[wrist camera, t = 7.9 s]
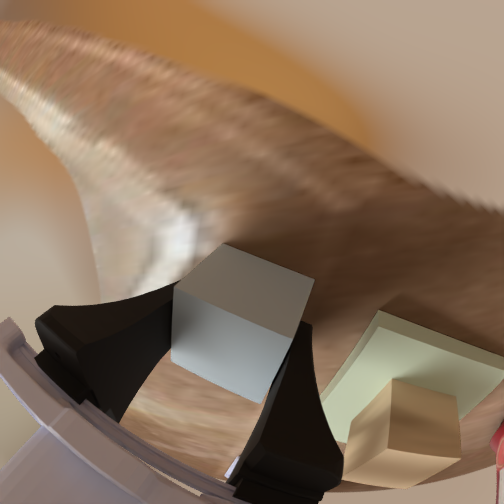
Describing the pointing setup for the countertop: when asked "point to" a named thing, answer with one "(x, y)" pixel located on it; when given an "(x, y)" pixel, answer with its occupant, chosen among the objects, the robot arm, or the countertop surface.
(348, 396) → the baseplate
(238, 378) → the slate brick
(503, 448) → the liquor
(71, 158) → the countertop surface
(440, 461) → the oak brick
